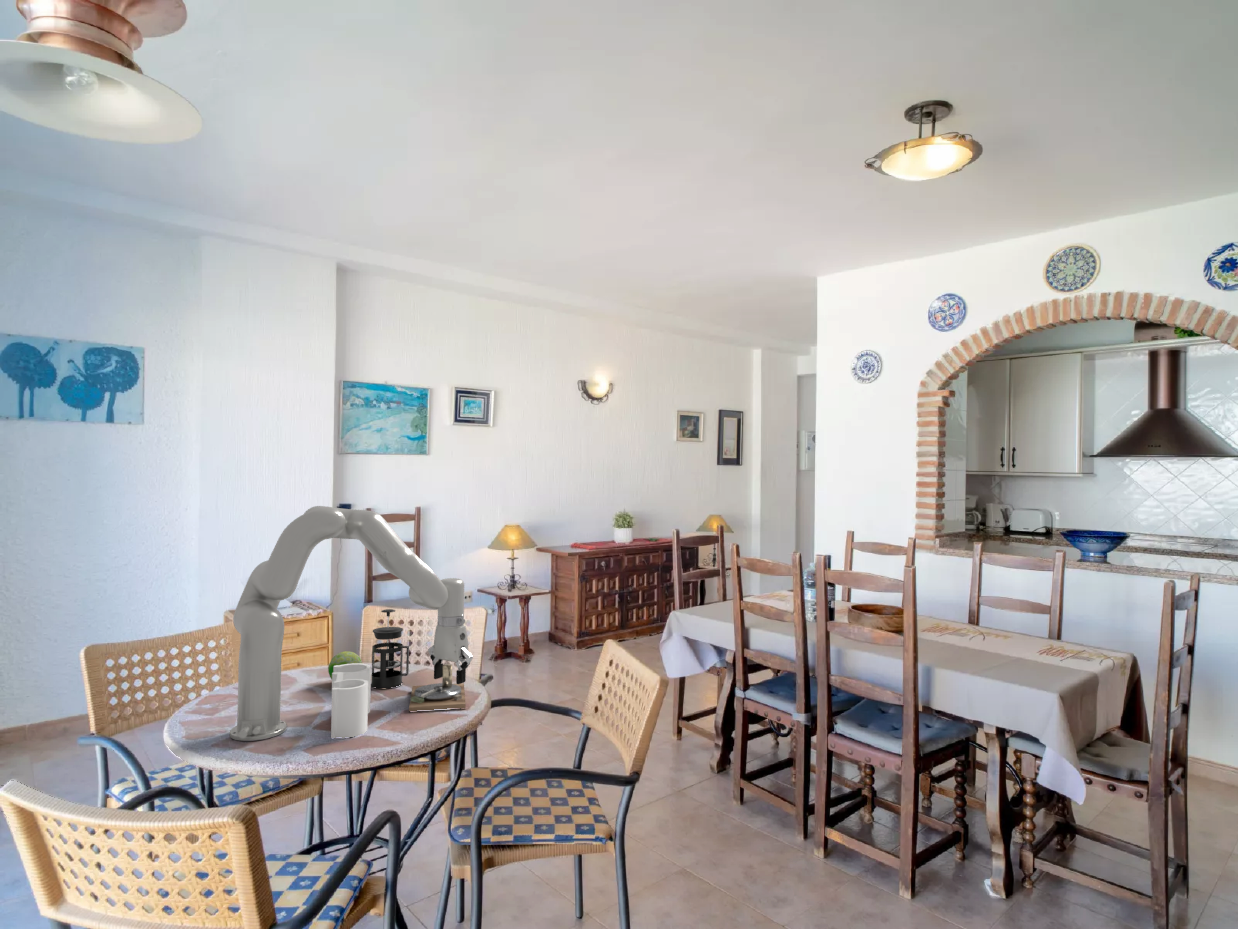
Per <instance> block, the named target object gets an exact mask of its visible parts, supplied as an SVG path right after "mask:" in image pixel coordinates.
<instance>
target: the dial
mask: <svg viewBox="0 0 1238 929" xmlns="http://www.w3.org/2000/svg"><path fill="white" fill-rule="evenodd" d="M441 679H442V682H440V683H431V684H424V685H425V686H421V687H419V688H417V689H416V690H415V697H420V698H424V700H432V701H435V700H446V699H451V698H454V696H456V695H460V694H461V687H460V686H458V685H454V684H455V683H453V664H452V663H445V664H444V663H443V674H442V677H441Z"/></svg>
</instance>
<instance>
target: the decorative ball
mask: <svg viewBox="0 0 1238 929" xmlns="http://www.w3.org/2000/svg"><path fill="white" fill-rule="evenodd" d="M352 663H362V664H363V661H362V659H361V657H360V656H359V655H358V654H357V653H355V652H353V651H341V652H338V653H337V654H336V655H334V656H333V657H332V658H331V660H330V662H329V663H328V666H327V670H328V675H329V677H330V680H332V673H333V667H334V666H336V665H344V664H352Z"/></svg>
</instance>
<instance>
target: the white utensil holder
mask: <svg viewBox="0 0 1238 929" xmlns="http://www.w3.org/2000/svg"><path fill="white" fill-rule="evenodd" d="M371 683H372V665H370V664H367V663H363V662H362V663H352V664H344V665H336V666H334V667H333V673H332V679H331V715H330V717H331V718H330V719H331V721H330V723H331V724H330V728H331V729H330V738H335V739H337V738H336V737H342V738H345V737H353V738H355V737H354V736H358V735H360V734H363V735H365V734H366V733H367V732H368V716H369V714H370V713H371V688H372V687H371ZM366 731H367V732H366ZM365 732H366V733H365ZM364 733H365V734H364ZM358 737H359V736H358Z"/></svg>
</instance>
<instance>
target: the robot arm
mask: <svg viewBox="0 0 1238 929" xmlns="http://www.w3.org/2000/svg"><path fill="white" fill-rule="evenodd" d="M330 539H341V540H342V539H343V540H344V539H345V540H356V541H357V540H358V541H359V542H361V543H362V544H363V546H364V547H365V548H366V549H367V550H368V551H369V552H370V553H371V555H372V556H373V557H374V558H375V559H376V561H378V563H379V564H380V565H381V566H382V567H383V569H385V570H386V571H387V573H390V574H391V575H393V576H394V577H395V578H398V579H399V580H401V581H402V582H403V583H405V584H406V585H407V586H408V587H409V588H408V597H409V599H410V600H411V601H412V603H415V605H418V606H420V607H424V608H427V609H428V610H433V611H434V610H437V624H436V626H435V631H434V639H433V645H432V646H430V647H429V648H427V652H428V654H429V658H430V660H431V661H432V662H431V663H432V665H433V679H434V680H438V679H442V674H443V665H444V663H443V661H446V662H450V663H451V662H453V663H455V666H456V668H457V669H456V672H455V673H456V674H455V675H456V676H455V677H456V680H455V682H456V683H455V684H461V683H464V684H465V683H466V682H467V681H466V678H467V675H466V674H467V671H466V670H468V667H469V665H471V662H472V660H473V659H474V656H473V655H472V653H471V652H469V640H468V638H469V637H468V631H467V627H466V625H464V624H465V623H466V619H465V615H464V614H465V582H464V580H463V579H461V578H456V577H455V578H454V577H453V578H451V577H450V578H442V579H440V578H439V577H438V575H437V574H436V573H435V572H434V571H433V569H432V568H430V566H429V565H427V564H426V563H425V562H424V561H423V560H422V559H421V558H420V557H419V556H418V555H417V554H416V553H415V552H414V551H413V550H412V549H410V547H409V546H408V545H407V544H406V542H404V541H403V539H402V538H401V537H400V536H399V535H398V533H397V532H396V531H395V530H394V529H393V528H392V526H391V525H390V524H389V523H388V522H387V520H386V519H385V518H384V517H383V516H382V515H381V514H380V513H378V512H375V511H373V510H368V509H367V510H365V509H354V508H353V509H352V508H351V509H350V508H349V509H348V508H342V507H341V508H339V507H333V506H332V507H331V506H324V505H315V506H311V507H310V508H307V510H306V511H305V512H304V513H303V514H302V515H299V516H298V517H296V518H295V519H294V520H293V521H291V522H290V523H289V524H288V525H287V526H286V527H285V528H284V529H283V531H281V534H280V535H279V537H278V539H277V540H276V543H275V545H274V548H273V549H272V552H271V553H270V556H269V558H268V560H266V561H265V560H264V561H263V562H260V563H259V564H258V565H257V566H256V567H254V569H253V571H252V572H251V573H250V575H249V577H248V579H247V582H246V584H245V586H244V589H243V591H242V593H241V595H240V598H239V601H238V602H237V605H236V608H235V609H234V613H233V618H232V620H233V621H232V622H233V627H234V629H235V630H236V631H237V633H239V634H240V641H239V642H240V644H239V651H238V665H237V666H238V668H237V669H238V675H237V677H238V678H237V716H236V718H237V719H236V720H237V722H236V723H237V724H236V725H235V726H234V727H232V728H231V729H230V730H229V737H230V738H231V739H232V740H235V741H238V742H239V741H240V742H252V741H254V742H255V741H260V740H261V741H263V740H266V739H270V738H274V737H278V736H279V735H281V734H283V733H284V732H285V731H287V727H288V726H287V723H286V722H285V721H284V720H281V700H282V698H281V695H282V694H281V693H282V692H281V691H282V652H283V643H284V642H283V641H284V636H285V620H284V617H283V616H282V613H281V612H280V611H279V609H278V607H279V605H280V603H281V601H284V600H288V599H289V598H290V597H291V596H292V595H294V593H295V591H296V590H297V587H298V584H299V581H300V579H301V577H302V573H303V572H304V568H305V566H306V564H307V561H308V559H309V557H310V556H311V554H312V552H313V550H314V549H315V547H317V545H318V544H320V543H321V542H323V541H324V540H330Z"/></svg>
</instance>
